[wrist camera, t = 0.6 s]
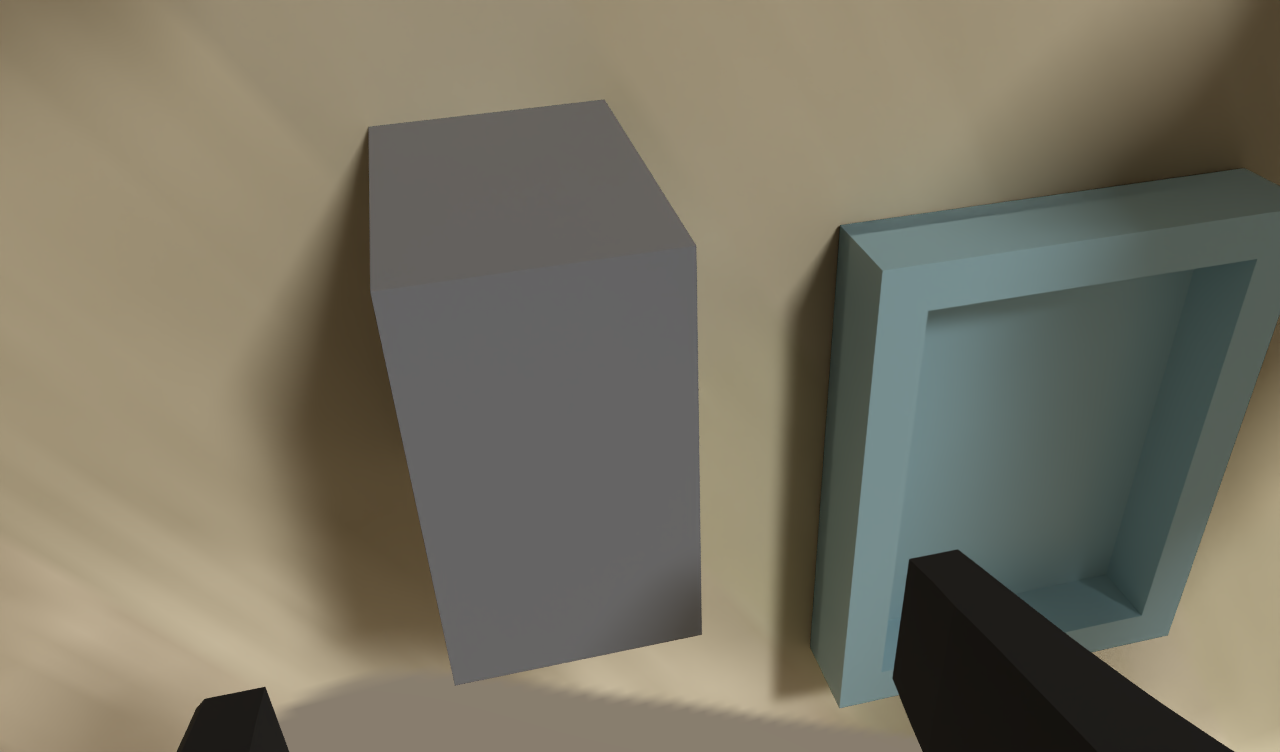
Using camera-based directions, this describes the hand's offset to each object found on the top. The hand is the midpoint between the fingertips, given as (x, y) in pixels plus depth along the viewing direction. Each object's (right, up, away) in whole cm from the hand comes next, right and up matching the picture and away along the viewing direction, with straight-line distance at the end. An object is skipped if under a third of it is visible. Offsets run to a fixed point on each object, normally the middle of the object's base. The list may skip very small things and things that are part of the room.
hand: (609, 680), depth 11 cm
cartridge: (-2, +5, +8) cm, 10 cm away
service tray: (+9, +2, +12) cm, 15 cm away
